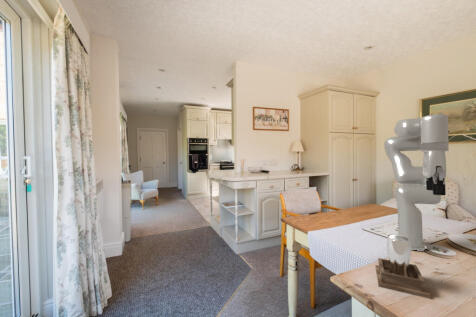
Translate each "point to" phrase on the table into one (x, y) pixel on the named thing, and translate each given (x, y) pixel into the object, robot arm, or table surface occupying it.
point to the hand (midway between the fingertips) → (435, 192)
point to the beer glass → (399, 254)
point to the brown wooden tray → (401, 280)
